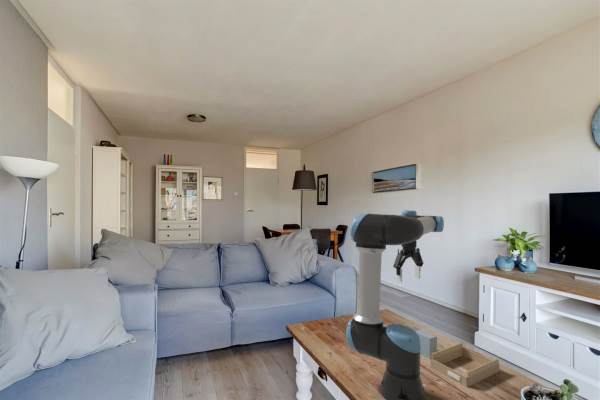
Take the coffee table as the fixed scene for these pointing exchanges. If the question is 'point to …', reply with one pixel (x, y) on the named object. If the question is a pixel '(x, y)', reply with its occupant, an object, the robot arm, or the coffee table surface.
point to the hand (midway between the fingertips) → (408, 279)
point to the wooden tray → (473, 375)
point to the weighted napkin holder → (426, 342)
